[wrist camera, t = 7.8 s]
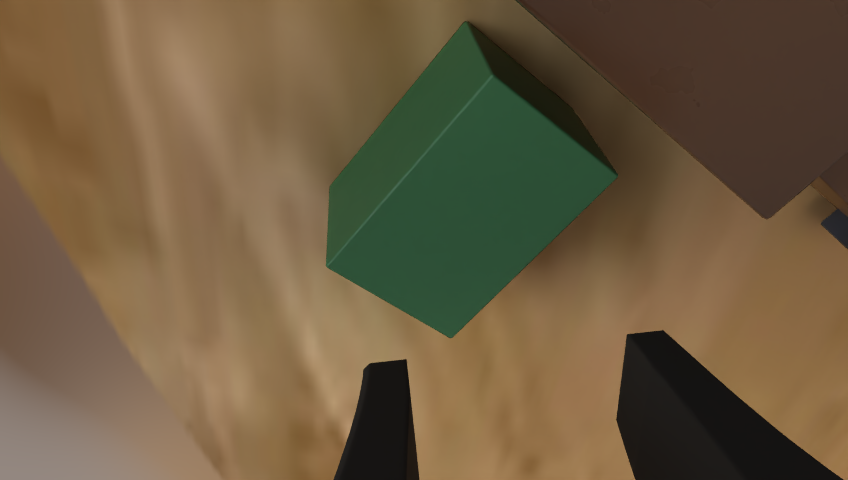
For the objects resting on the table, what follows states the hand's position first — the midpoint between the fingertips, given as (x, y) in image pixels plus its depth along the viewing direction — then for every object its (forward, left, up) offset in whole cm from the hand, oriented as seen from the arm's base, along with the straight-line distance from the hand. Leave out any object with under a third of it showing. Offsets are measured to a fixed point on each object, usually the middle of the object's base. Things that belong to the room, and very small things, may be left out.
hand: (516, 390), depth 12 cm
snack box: (0, 0, -9) cm, 9 cm away
